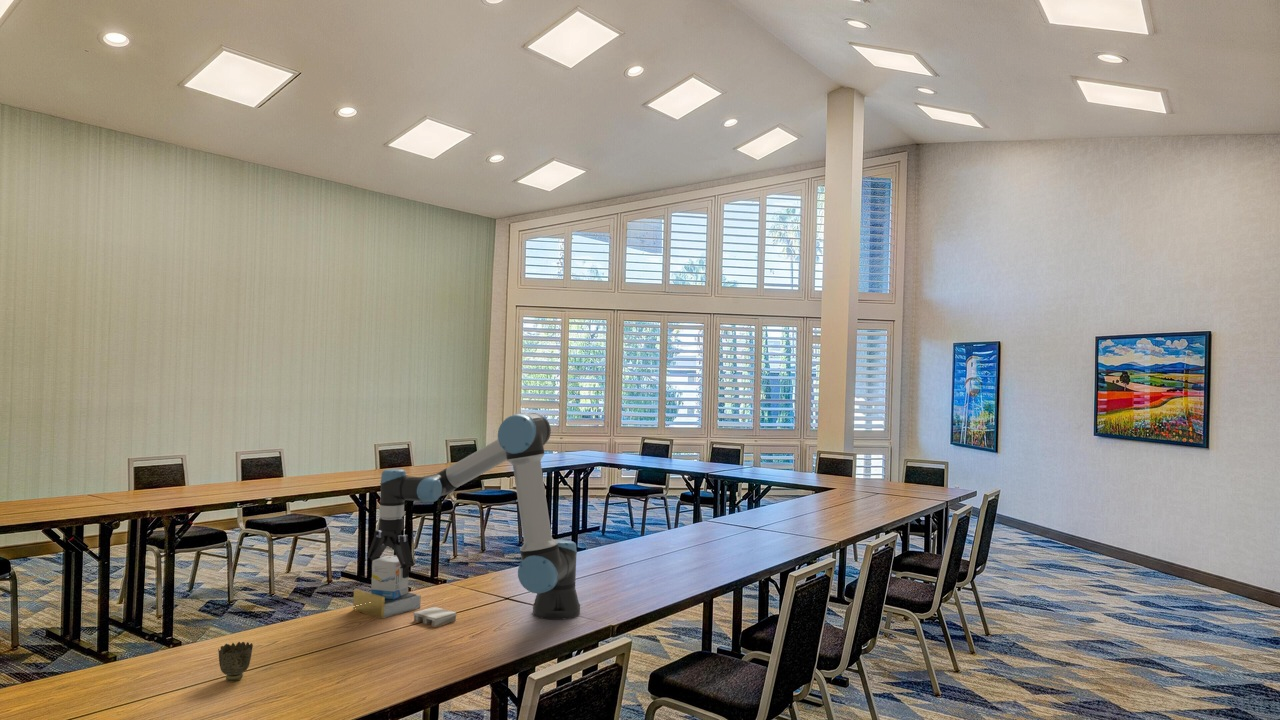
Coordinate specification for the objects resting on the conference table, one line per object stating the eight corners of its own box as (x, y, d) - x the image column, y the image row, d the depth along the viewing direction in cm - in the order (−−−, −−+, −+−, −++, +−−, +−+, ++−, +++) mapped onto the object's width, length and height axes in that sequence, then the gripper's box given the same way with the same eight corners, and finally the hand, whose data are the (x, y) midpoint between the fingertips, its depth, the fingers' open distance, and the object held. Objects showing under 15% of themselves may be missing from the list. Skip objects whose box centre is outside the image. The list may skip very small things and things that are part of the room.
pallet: (456, 620, 237) (456, 612, 237) (435, 627, 230) (436, 618, 230) (434, 614, 243) (434, 606, 243) (413, 620, 236) (413, 612, 236)
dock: (420, 607, 249) (421, 587, 250) (381, 618, 237) (381, 597, 237) (392, 599, 257) (393, 580, 257) (353, 610, 245) (353, 589, 245)
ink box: (393, 600, 242) (395, 562, 243) (370, 597, 245) (371, 560, 245) (408, 593, 251) (410, 556, 251) (385, 590, 253) (387, 554, 253)
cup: (225, 673, 190) (226, 641, 190) (256, 673, 191) (257, 641, 191) (211, 685, 183) (212, 651, 183) (243, 685, 183) (245, 651, 184)
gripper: (426, 520, 244) (424, 588, 244) (377, 511, 259) (374, 575, 258) (407, 524, 238) (405, 593, 238) (357, 514, 252) (355, 579, 252)
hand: (389, 584), depth 248 cm, fingers open, 13 cm apart
